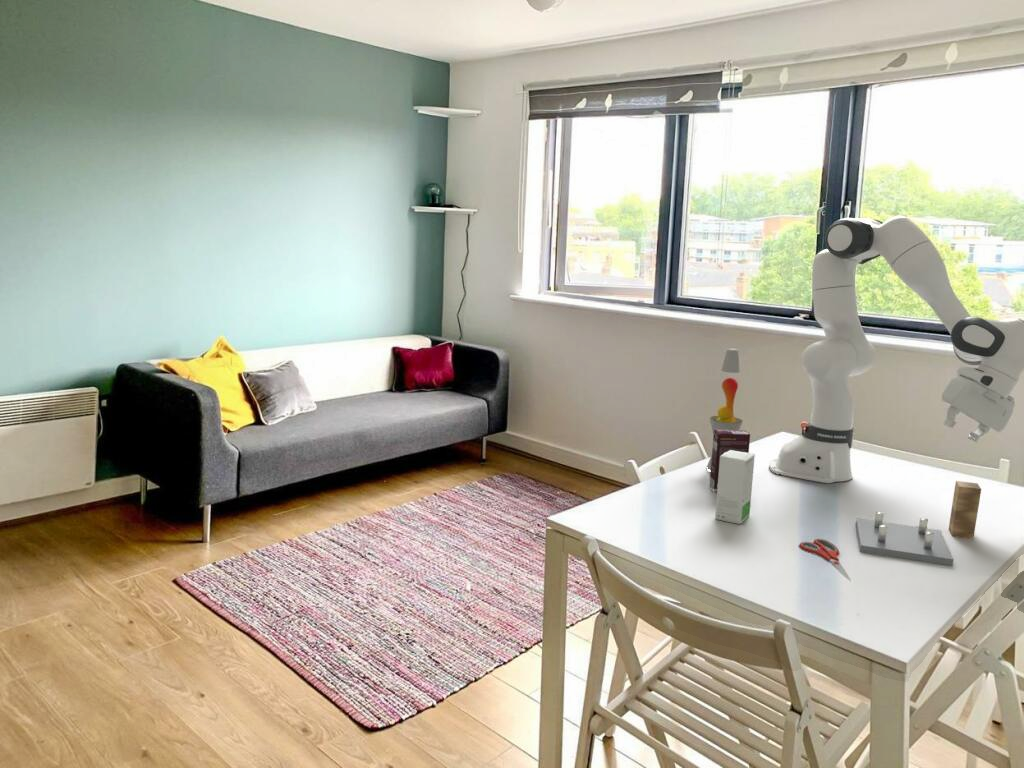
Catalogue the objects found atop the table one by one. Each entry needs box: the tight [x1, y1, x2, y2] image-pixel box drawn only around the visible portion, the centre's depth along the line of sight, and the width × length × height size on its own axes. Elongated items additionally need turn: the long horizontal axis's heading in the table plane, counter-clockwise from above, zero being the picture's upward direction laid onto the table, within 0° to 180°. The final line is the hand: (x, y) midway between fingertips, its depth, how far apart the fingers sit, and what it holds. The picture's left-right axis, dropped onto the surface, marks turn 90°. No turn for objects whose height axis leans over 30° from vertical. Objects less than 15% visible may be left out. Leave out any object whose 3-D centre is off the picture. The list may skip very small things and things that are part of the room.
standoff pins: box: [874, 511, 934, 550], centre depth 183 cm, size 11×11×4 cm
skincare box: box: [714, 450, 756, 525], centre depth 195 cm, size 8×7×16 cm
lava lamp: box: [706, 348, 743, 470], centre depth 230 cm, size 9×9×35 cm
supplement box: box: [709, 429, 751, 492], centre depth 216 cm, size 9×5×16 cm, turn 92°
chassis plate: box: [855, 518, 954, 567], centre depth 184 cm, size 18×18×2 cm
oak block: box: [948, 480, 982, 539], centre depth 190 cm, size 4×4×12 cm
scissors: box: [798, 538, 852, 582], centre depth 172 cm, size 8×21×2 cm, turn 12°
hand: (959, 433), depth 199 cm, fingers open, 8 cm apart
